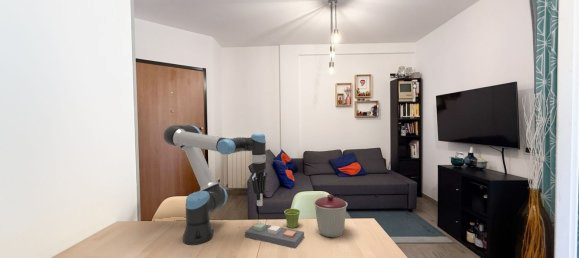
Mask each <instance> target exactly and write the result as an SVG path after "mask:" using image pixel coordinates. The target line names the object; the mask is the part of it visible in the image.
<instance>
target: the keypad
mask: <svg viewBox="0 0 579 258" xmlns="http://www.w3.org/2000/svg"><path fill="white" fill-rule="evenodd" d="M256 224H257V223H255V224H254V225H256ZM254 225H252V226H251V227H249V228H248V229H247V230H245V231H244V237H245V238H248V239H253V240H256V241H261V242H266V243H269V244H270V243H271V244H275V245H279V246H284V247H288V248H291V249H292V248H293V249H296V248H297V247H298V245H299V244H300V243H301V242H302V240H303V239H304V238H305V231H302V230H297V229H293V228H286V227H281V231H280V232H279V233H278V234H277V235H275V234H270V233H268V228H270V227H271V226H272V225H270V224H266V229H264V230H263V231H262V232H260V231H255V230H253V226H254ZM287 230H291V231H296V235H295V236H294V237H293V238H290V237H285V236H283V234H284V233H285V232H286V231H287Z"/></svg>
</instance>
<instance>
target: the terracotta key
mask: <svg viewBox="0 0 579 258" xmlns="http://www.w3.org/2000/svg"><path fill="white" fill-rule="evenodd" d="M295 235H296V231H291V230H287V231H286V232H285V233H284V234H283V236H285V237H290V238H293V237H294V236H295Z"/></svg>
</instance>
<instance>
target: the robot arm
mask: <svg viewBox="0 0 579 258" xmlns="http://www.w3.org/2000/svg"><path fill="white" fill-rule="evenodd" d="M162 134H163V135H162V137H163V141H164V142H165V143H166V144H167V145H170V146H175V147H180V150H181V151H184V152H185V154H186V156H187V159H188V162H189V164H190V166H191V169H192V171H193V173H194V175H195V178H196V180H197V184H198V185H199V187H200V189H199V191H194V192H193V193H190V194H188V195H187V197H186V198H185V222H186V223H185V224H186V225H185V227H184V228H185V229H184V233H183V235H182V242H183V243H184V244H186V245H191V246H193V245H195V246H196V245H200V244H204V243H207V242H209V241H210V240H212V239H213V237H214V230H213V227H212V223H211V221H210V220H211V218H210V214H211V213H212V212H214V211H216V210H218V209H220V208H222V207H223V206H224V205H225V204H226V203H227V200H228V193H227V190H226V188H224V187H222V186H220V184H219V182H217V181H216V180H215V179H214V177H213V174H212V172H211V169H210V167H209V165H208V162H207V160H206V158H205V156H204V153H203V151H202V149H203V150H207V151H213V152H218V153H219V154H221V155H230V154H235V153H240V152H251V170H253V175H252V176H251V177H250V181H251V184H252V188H253V194H255V195H256V206H258V207H262V206H264V205H263V199H264V197H263V194H264V193H265V190H266V182H267V175H268V173H267V172H265V170H266V169H267V163H266V159H267V156H266V155H267V154H266V149H267V148H266V145H267V144H266V143H267V141H266V134H264V133H252V134H251V137H244V136H243V137H241V136H240V137H238V136H237V137H232V138H228V137H227V138H226V137H223V136H222V137H221V136H214V135H209V134H204V133H202V132H201V130H200V129H199V128H198V127H197V126H195V125H193V124H192V125H191V124H184V125H183V124H178V125H177V124H175V125H174V124H173V125H170V126H168V127H167V128H166V129H165V130H164V131H163V133H162Z"/></svg>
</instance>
